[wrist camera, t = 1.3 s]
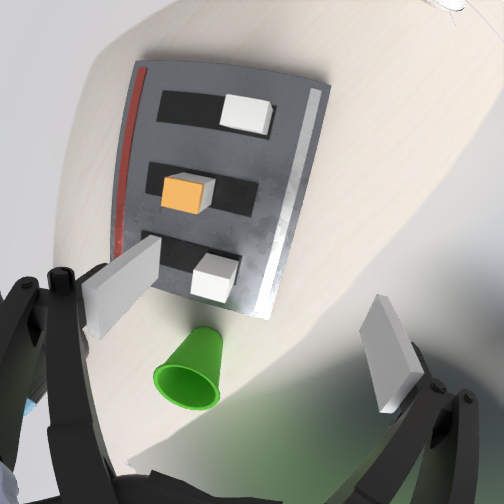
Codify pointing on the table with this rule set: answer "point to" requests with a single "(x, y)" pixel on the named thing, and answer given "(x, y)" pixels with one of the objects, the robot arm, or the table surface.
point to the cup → (192, 371)
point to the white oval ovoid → (448, 5)
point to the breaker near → (246, 114)
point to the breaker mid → (187, 192)
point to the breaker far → (214, 277)
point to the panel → (215, 173)
